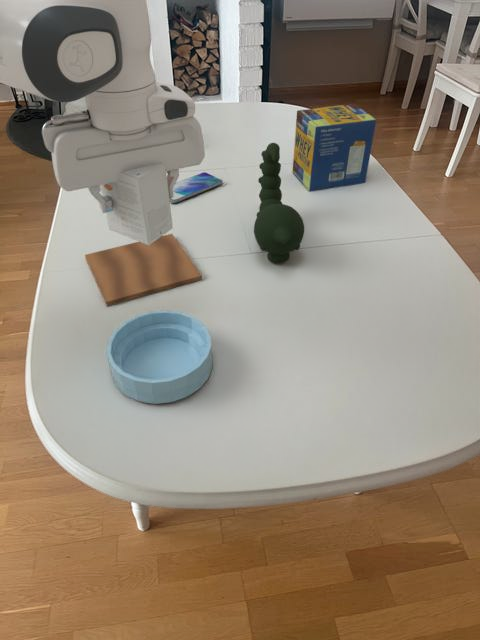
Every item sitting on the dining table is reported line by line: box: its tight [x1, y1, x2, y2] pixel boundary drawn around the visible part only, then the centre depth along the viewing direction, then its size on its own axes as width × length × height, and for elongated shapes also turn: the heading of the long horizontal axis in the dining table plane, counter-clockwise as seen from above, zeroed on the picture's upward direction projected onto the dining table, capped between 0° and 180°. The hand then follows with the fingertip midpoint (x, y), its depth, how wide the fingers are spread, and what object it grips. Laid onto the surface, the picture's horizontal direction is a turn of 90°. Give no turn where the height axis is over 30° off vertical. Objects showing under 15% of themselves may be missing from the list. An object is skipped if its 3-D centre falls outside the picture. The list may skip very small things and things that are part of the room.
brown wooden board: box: [84, 233, 203, 307], centre depth 99 cm, size 18×16×1 cm
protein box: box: [292, 103, 377, 192], centre depth 123 cm, size 10×15×16 cm
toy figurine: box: [253, 142, 305, 265], centre depth 100 cm, size 9×19×25 cm
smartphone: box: [169, 171, 223, 204], centre depth 123 cm, size 7×1×15 cm
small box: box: [100, 163, 174, 245], centre depth 74 cm, size 8×6×10 cm
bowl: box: [106, 309, 213, 405], centre depth 78 cm, size 15×15×5 cm
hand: (137, 203), depth 74 cm, fingers closed on small box, 7 cm apart
